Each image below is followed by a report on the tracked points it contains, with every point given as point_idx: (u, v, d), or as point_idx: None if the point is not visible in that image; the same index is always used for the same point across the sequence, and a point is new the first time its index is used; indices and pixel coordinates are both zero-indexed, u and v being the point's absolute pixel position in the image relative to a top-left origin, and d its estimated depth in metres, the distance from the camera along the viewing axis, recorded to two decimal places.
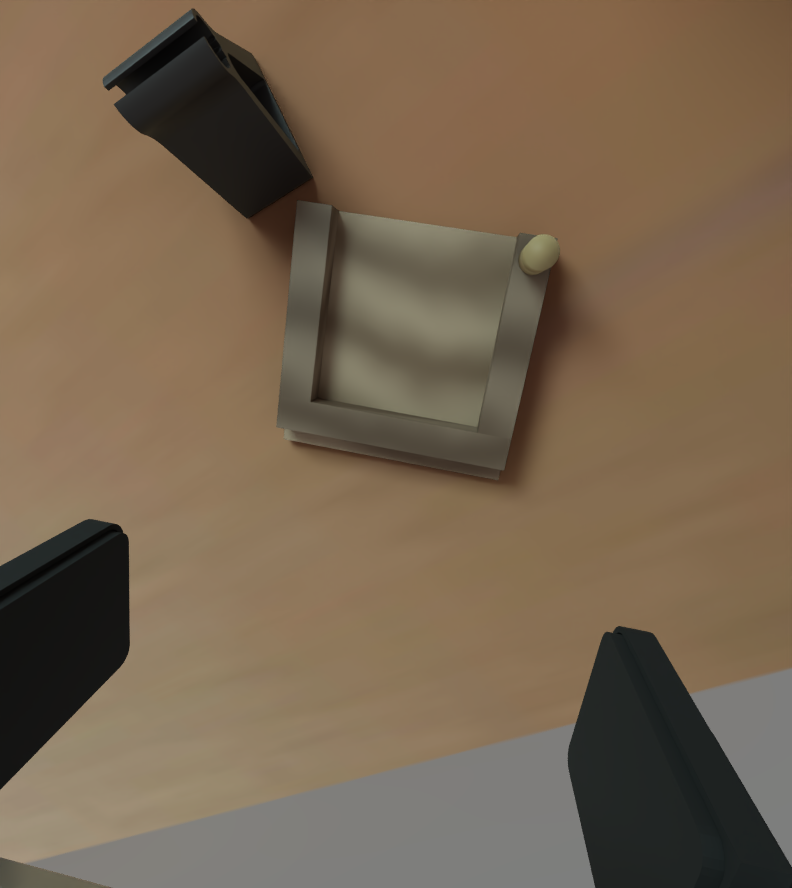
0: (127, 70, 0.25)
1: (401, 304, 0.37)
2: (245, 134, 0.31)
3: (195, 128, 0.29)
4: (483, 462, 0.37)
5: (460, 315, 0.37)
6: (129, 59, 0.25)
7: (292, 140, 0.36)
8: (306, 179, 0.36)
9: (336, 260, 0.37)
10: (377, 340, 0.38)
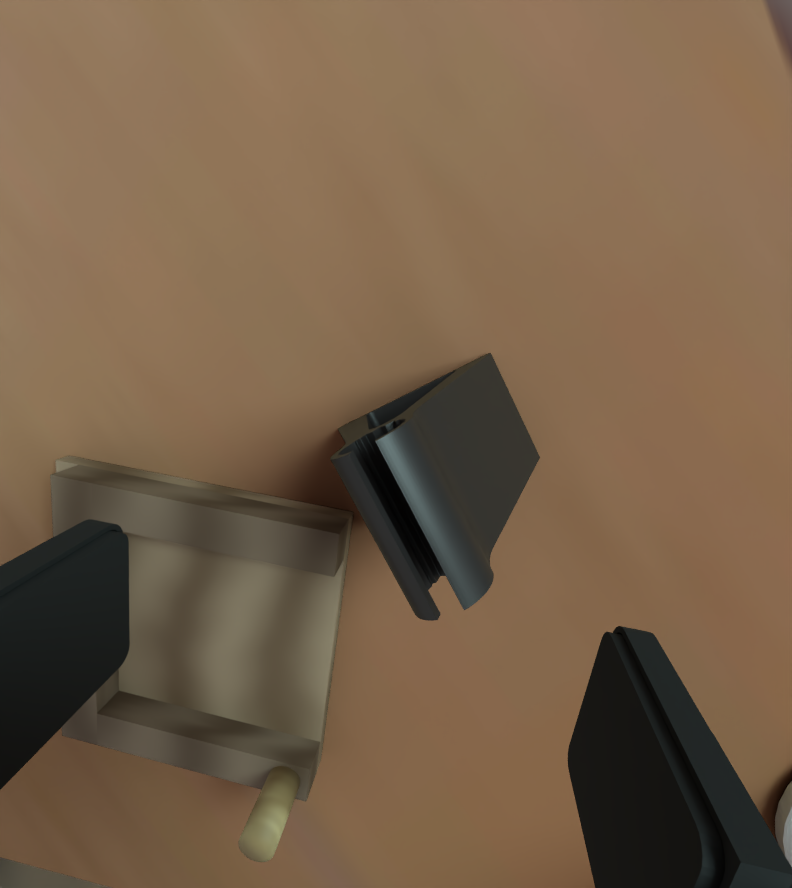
0: (399, 485, 0.15)
1: (241, 622, 0.30)
2: None
3: None
4: None
5: (235, 682, 0.31)
6: (418, 487, 0.15)
7: None
8: None
9: None
10: (197, 591, 0.30)
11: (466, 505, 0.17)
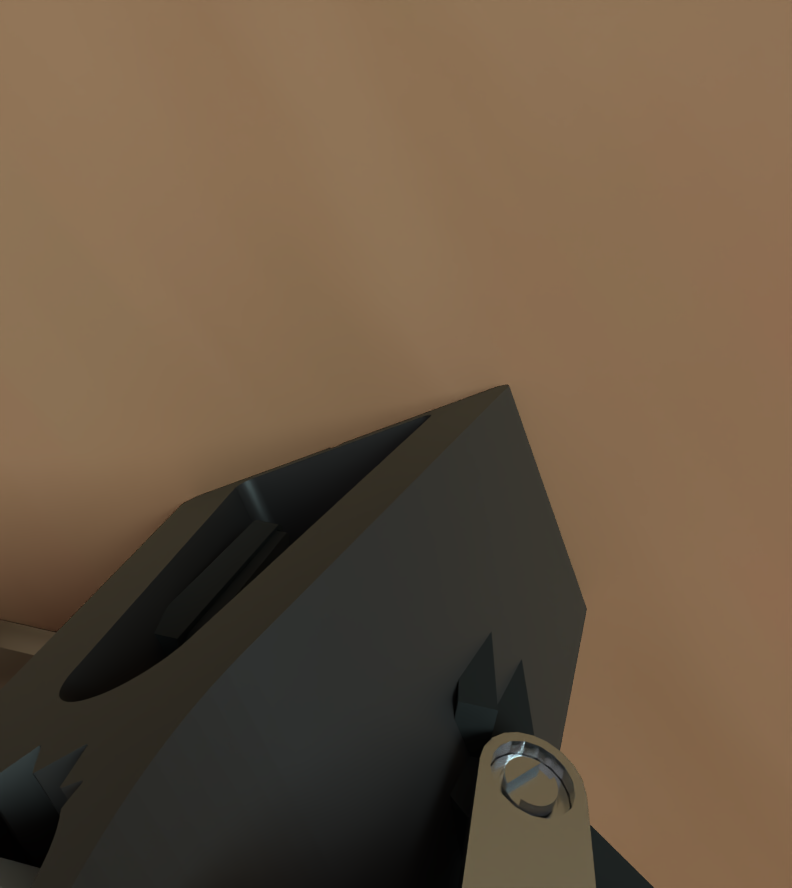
0: None
1: None
2: None
3: None
4: None
5: None
6: None
7: None
8: None
9: None
10: None
11: None
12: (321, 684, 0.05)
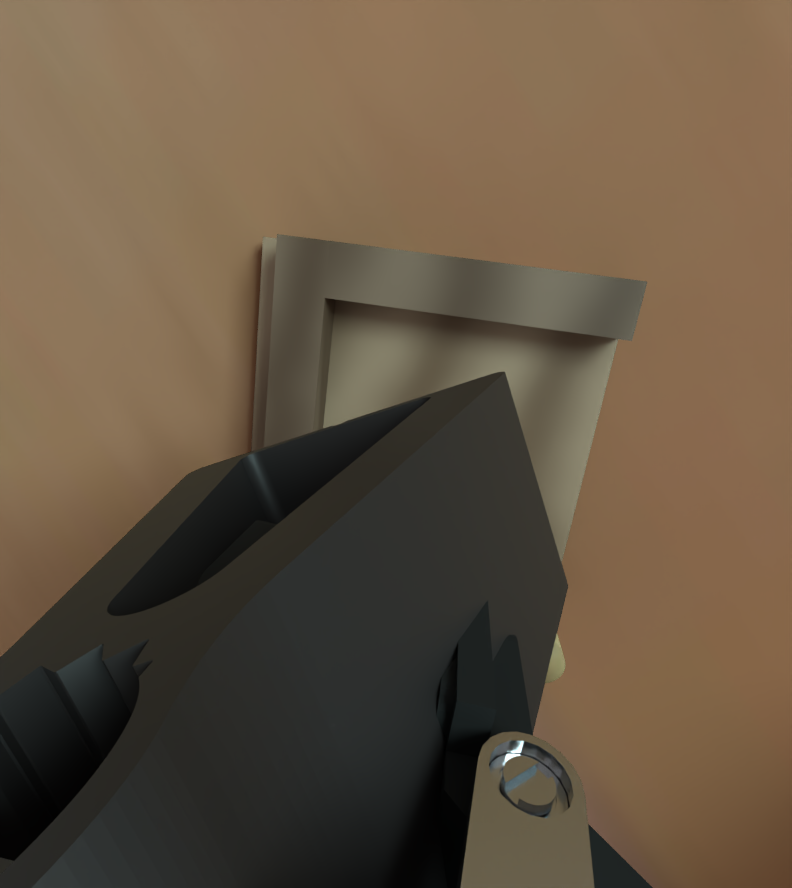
0: None
1: None
2: None
3: None
4: None
5: None
6: None
7: None
8: None
9: (545, 334, 0.24)
10: None
11: None
12: (340, 610, 0.05)
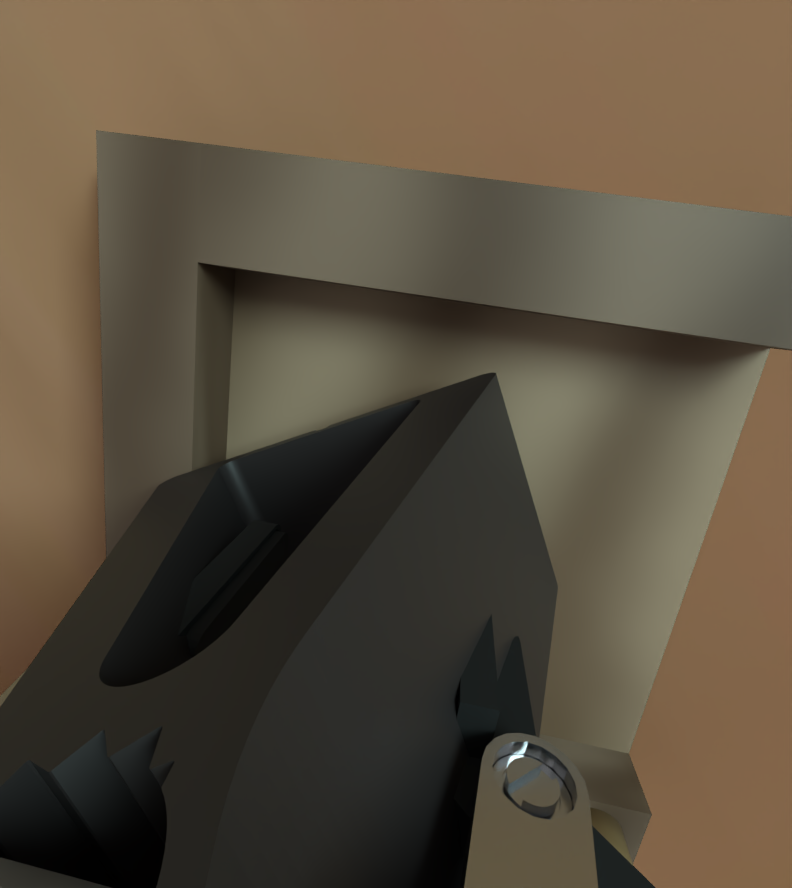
0: None
1: None
2: None
3: None
4: None
5: None
6: None
7: None
8: None
9: (628, 338, 0.13)
10: None
11: None
12: (366, 662, 0.05)
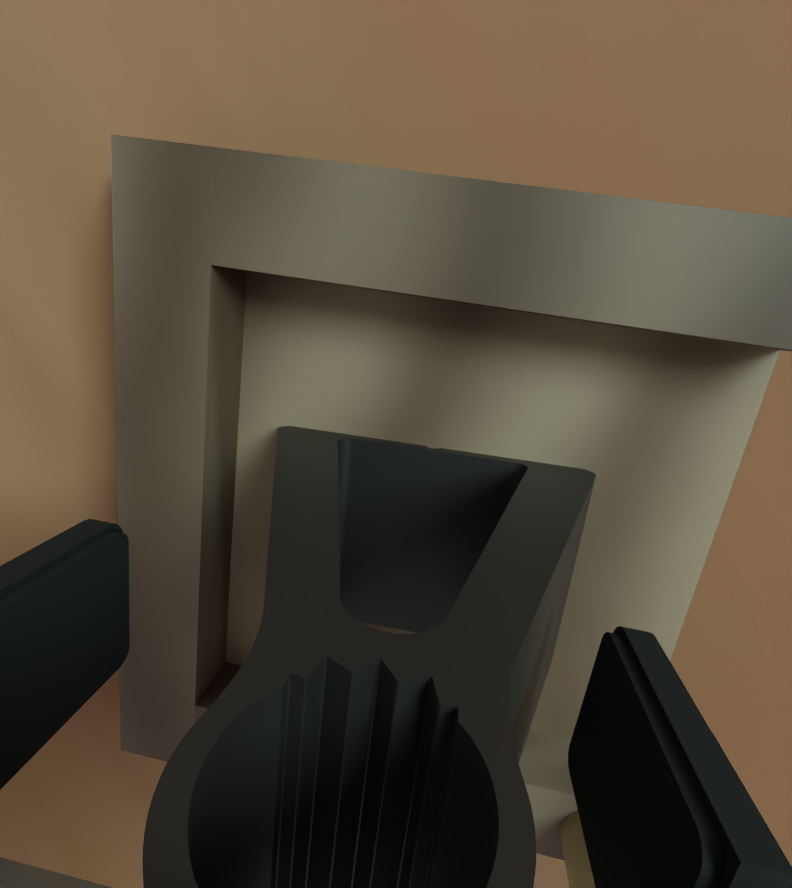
0: None
1: None
2: None
3: None
4: (130, 712, 0.16)
5: None
6: None
7: (355, 617, 0.15)
8: None
9: (638, 340, 0.13)
10: None
11: None
12: (516, 682, 0.06)
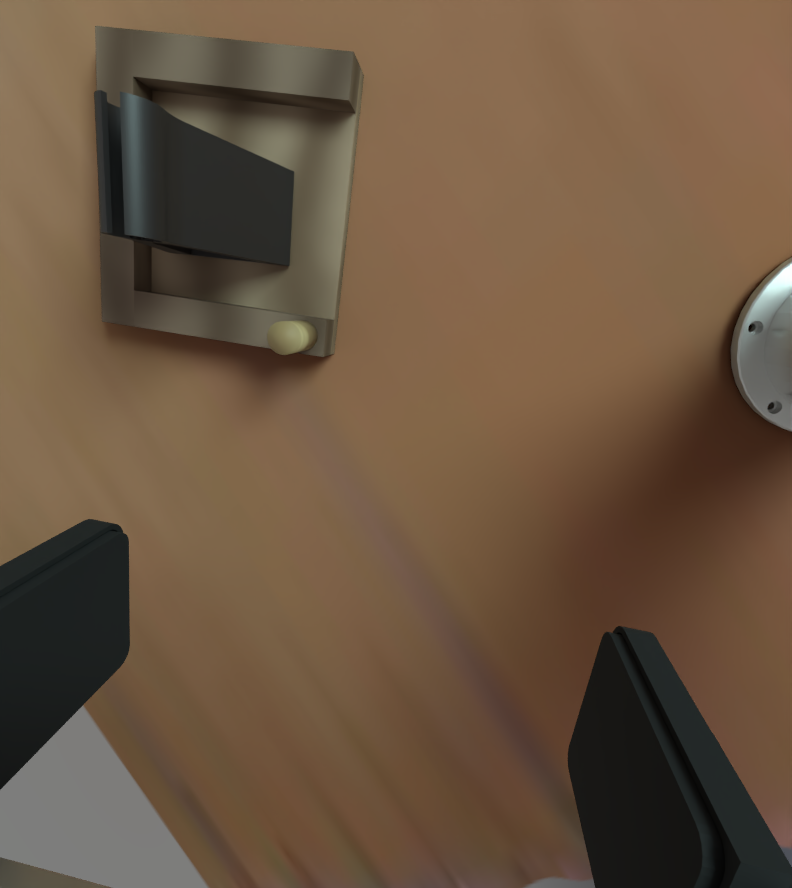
0: (122, 130, 0.22)
1: None
2: None
3: None
4: (105, 298, 0.35)
5: (258, 265, 0.35)
6: (134, 140, 0.23)
7: (206, 254, 0.35)
8: None
9: (304, 112, 0.32)
10: None
11: (179, 203, 0.26)
12: (194, 144, 0.26)
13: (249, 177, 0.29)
